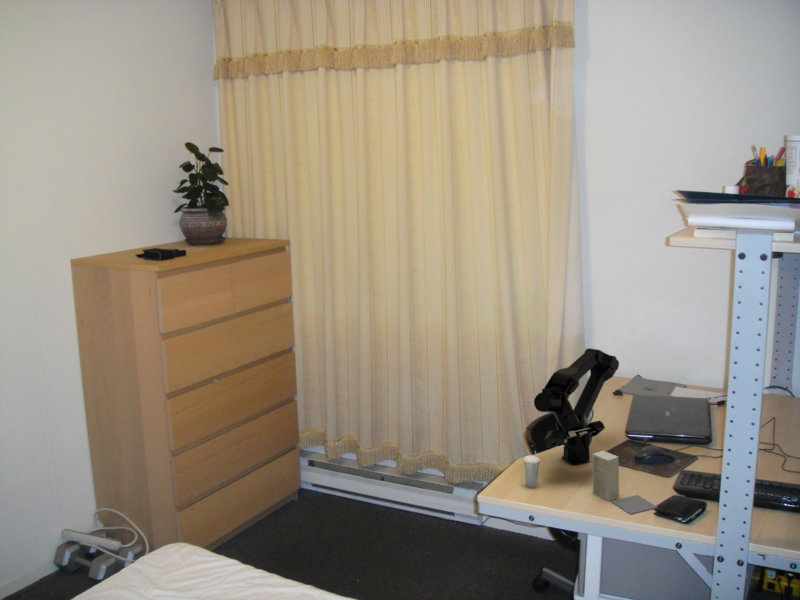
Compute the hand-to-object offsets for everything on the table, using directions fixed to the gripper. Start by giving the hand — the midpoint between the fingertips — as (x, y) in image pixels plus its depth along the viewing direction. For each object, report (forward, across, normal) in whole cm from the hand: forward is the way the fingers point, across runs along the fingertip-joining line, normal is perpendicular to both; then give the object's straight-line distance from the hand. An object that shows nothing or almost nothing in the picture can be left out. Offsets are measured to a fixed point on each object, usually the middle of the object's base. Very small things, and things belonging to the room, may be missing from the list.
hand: (587, 460), depth 202 cm
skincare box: (+11, 0, 0) cm, 11 cm away
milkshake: (0, +14, -11) cm, 18 cm away
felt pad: (+16, -3, +6) cm, 18 cm away
